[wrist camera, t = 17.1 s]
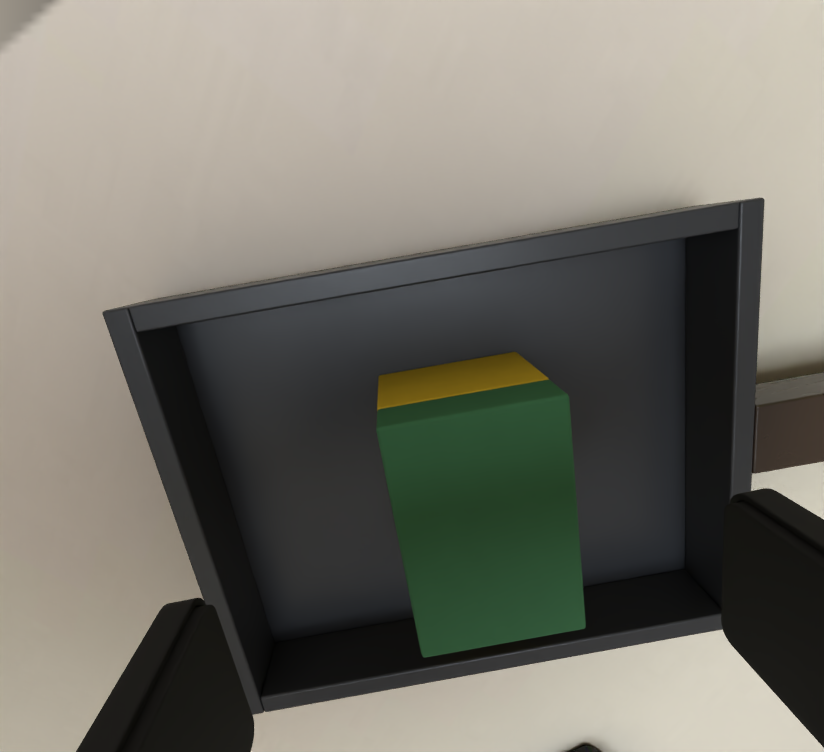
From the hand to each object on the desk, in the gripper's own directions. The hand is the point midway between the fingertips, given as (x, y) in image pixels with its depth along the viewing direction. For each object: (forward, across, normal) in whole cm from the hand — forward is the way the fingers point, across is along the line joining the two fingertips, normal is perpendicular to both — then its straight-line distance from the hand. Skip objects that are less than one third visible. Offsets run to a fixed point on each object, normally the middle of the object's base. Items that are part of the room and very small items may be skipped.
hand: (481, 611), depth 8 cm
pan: (+6, -1, 0) cm, 6 cm away
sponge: (+6, -1, 0) cm, 6 cm away
